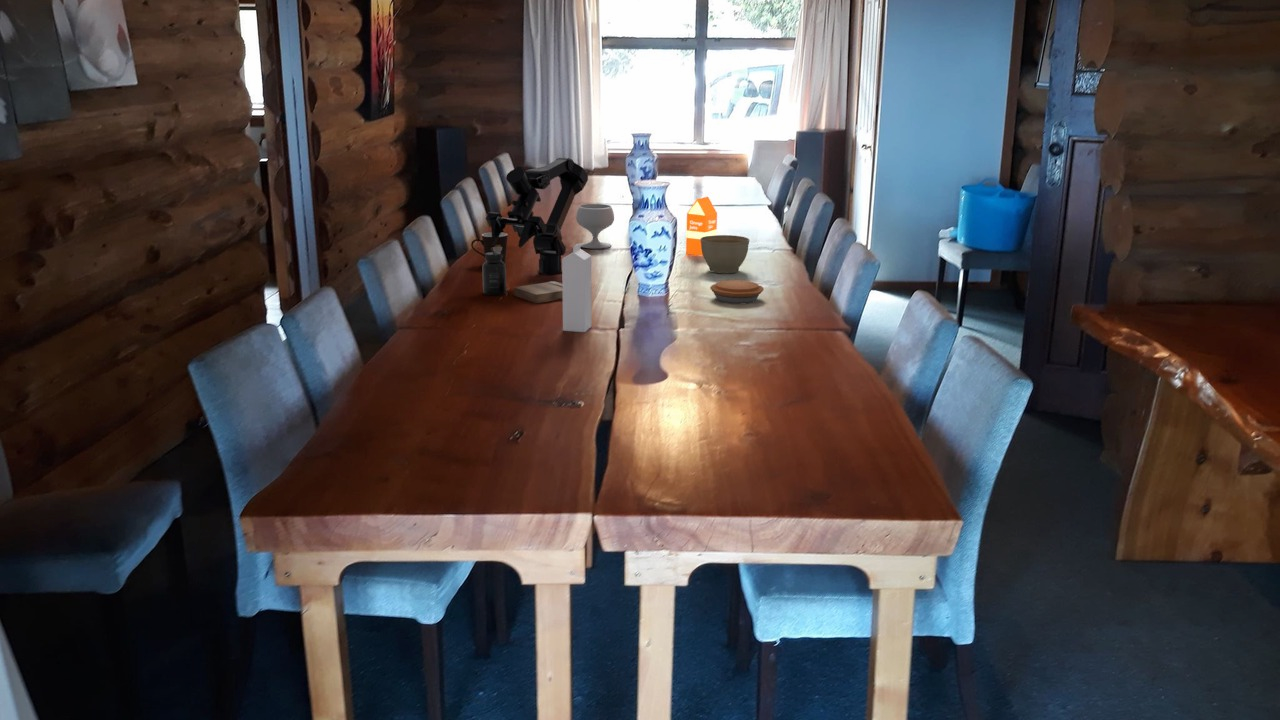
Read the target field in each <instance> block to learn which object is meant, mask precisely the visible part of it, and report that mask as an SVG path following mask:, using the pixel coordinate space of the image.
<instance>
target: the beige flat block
mask: <svg viewBox="0 0 1280 720" xmlns="http://www.w3.org/2000/svg"><path fill="white" fill-rule="evenodd" d="M513 296H514V297H517V298H520V299H523V300H527V301H529V302H532V303H535V304H541V303H546V302H547V303H548V302H551V301H553V302H554V301H559V300H558V299H560V300H563V288H562V283H561V282H559V281H555V280H553V281H547V282H541V283H534V284H527V285H519V286H514V287H513Z"/></svg>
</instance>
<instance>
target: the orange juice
mask: <svg viewBox="0 0 1280 720" xmlns="http://www.w3.org/2000/svg"><path fill="white" fill-rule="evenodd" d="M717 226H718V212H717V211H716V208H715V207H714V204H713V203H712V202H711V199H710V198H709V196H704V197H701V198H696V200H695V201H694V202H693V204H692V205H691V207H690V208H689V210H688V211H687V212H686V230H685V231H686V232H685V233H686V236H685V238H686V239H685V240H686V241H685V242H686V243H685V255H688V254H694V255H693V256H696V255H702V256H701V257H703V254H702V250H701V242H700V239H701V238H702V237H705V236H714V235H717V233H718V231H717V230H718V228H717Z"/></svg>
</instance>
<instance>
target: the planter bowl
mask: <svg viewBox="0 0 1280 720" xmlns="http://www.w3.org/2000/svg"><path fill="white" fill-rule="evenodd" d="M700 242H701V250H702V254H703V256H702V257H703V260H704V262H705V264H706V265H707V266H708V268H709V272H710V273H711V272H712V273H715V274H725V275H726V274H733V273H734V274H735V273H737V272H739V269H740V267H741V266H742V265H743V264H744V261H745V260H746V257H747V255H748V251H749V244H750V238H749V237H745V236H741V235H740V236H739V235H729V234H718V235H714V236H705V237H702V238H701V239H700Z"/></svg>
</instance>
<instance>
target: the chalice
mask: <svg viewBox="0 0 1280 720" xmlns="http://www.w3.org/2000/svg"><path fill="white" fill-rule="evenodd" d="M614 213H615V212H614V210H613V208H612V205H609V204H605V203H604V204H603V203H602V204H601V203H589V204H588V203H587V204H585V203H584V204H580V205H579V206H578V208H577V211H576V217H575V220H576V223H578V225H579V226H580V227H581V228H584V229H585V230H587V231H588V232H590V234H591V235H592V239H591V241H588V242H586V241H585V242H582V243H580V248H583V249H591V250H592V249H595V250H596V249H597V250H599V249H600V250H601V249H607V248H610V247H612V244H611V243H607V242H604V241H603V242H602V241H600V240H599V239H598V237H599V235H600V233H601V232H603V231H604V230H606V229H607V228H609V227H610V226H612V224H614V221H615V214H614Z"/></svg>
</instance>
